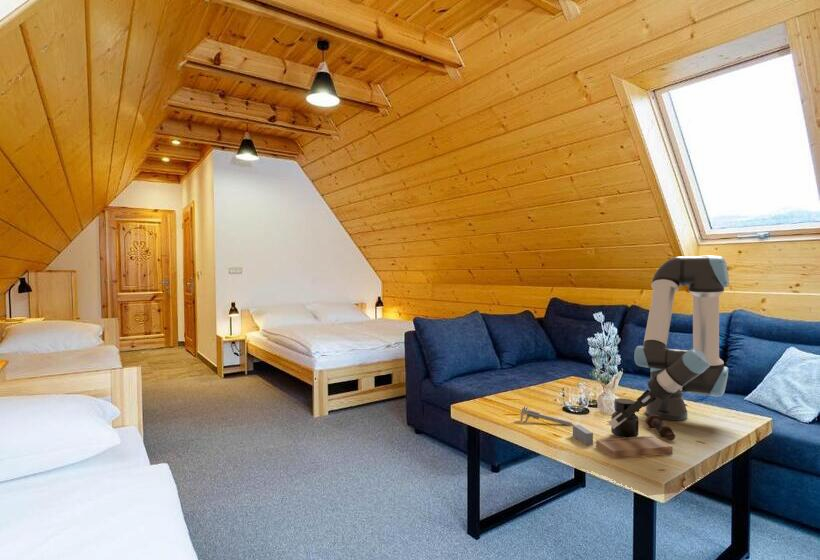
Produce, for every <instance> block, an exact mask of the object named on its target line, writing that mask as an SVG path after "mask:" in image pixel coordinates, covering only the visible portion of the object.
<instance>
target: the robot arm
mask: <svg viewBox="0 0 820 560" xmlns="http://www.w3.org/2000/svg"><path fill="white" fill-rule="evenodd" d="M728 270H729V269H728V265H727V262H726V259H725V258H724V257H722V256H721V255H695V256H693V255H691V256H679V255H678V256H674V257H671V258H670V259H667V260H665V262H663V263H662V264H661V265H660V266H659V267H658V269H657V270H656V271H655V273H654V275H653V277H652V280H651V289H652V294H651V295H652V296H651V301H650V305H649V306H650V307H649V310H648V311H649V312H648V317H647V322H646V329H645V332H644V333H645V334H644V337H643V338H644V340H643V345H637V346H636V347H635V349H634V354H633V356H634V363H635V365H636V366H638V367H642V368H647V369H650V370H649V372H650V375H649V376H650V378H649V379H650V380H649V381H648V382H647V388H648V389H647V390H645V391H644V392H643V393H642V395H640V396H639V397H637V399H636V401H635V400H634V401H635V403H634V404H632V405H631V406H630V407H628V408H627V409H626V410H625V411H622V410H621V411H620V412H621V413H620V414H618V415H617V416H616V417H614V418H613V419H612V420H611V419H610V420H609V421H608V422H607V423H608V424H609V426H610V428H611V427H612V428H613V429H614V428H616V427H617V426H618V425H620V424H621V423H622V422H624V421H625V420H626V419H628V418H629V417H630V416H631V415H633V414H634V413H635V414H636V413H639V412H640V410H641V409H642V408H645V414H646V415H647V416H649V415H658V416H659V417H660V419H661V420H664V421H683V420H684V421H685V420H687V419H688V415H689V414H688V410H687V407H686V404H685V400H684V399H683V398H684V396H683V393H687V394H688V393H689V394H695V395H702V396H703V395H704V396H708V397H719V398H720V397H722V396H723V395H724V394H725V391H726V387H727V383H728V382H727V381H728V377H729V370H730V369H729V367H727V366H725V362H724V360H723V359H721V358H720V295H721V294H723V293H724V292H725V288H728V287H729V284H730V282H729V281H730V278H729V271H728ZM680 287H687V288H688V289H687V290H688V292H689V293H690V294H691V295H692V348H691V349H676V348H667V346H668V344H667V343H668V338H669V333H670V328H671V327H670V326H671V321H672V313H673V307H674V302H675V295H676V293H677V292H679V289H680Z"/></svg>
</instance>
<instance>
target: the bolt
mask: <svg viewBox="0 0 820 560" xmlns="http://www.w3.org/2000/svg"><path fill="white" fill-rule="evenodd" d="M645 424H646V425H647V426H648V428H650V429H652V430H653V429H655V430H656V431H657V433H658V435H659V436H660V438H663V439H666V440H668V441H674V440H675V439H676V434H675V432H674V431H673V429H672V427H671V426H670V425H668V424H664V422H663V419H660V417H659V416H658V415H647V417H646V419H645Z"/></svg>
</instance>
